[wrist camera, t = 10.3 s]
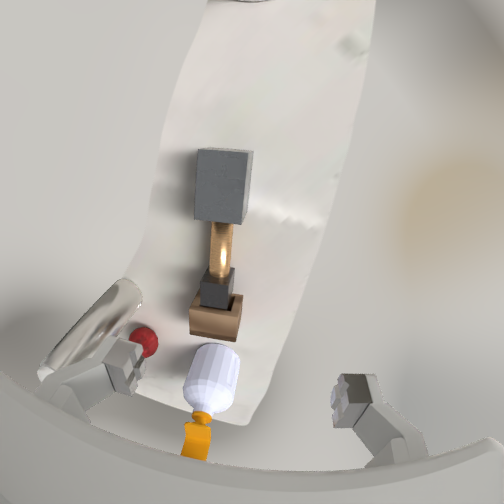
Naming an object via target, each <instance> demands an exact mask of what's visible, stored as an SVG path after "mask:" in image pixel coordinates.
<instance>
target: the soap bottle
mask: <svg viewBox="0 0 504 504" xmlns="http://www.w3.org/2000/svg"><path fill="white" fill-rule="evenodd" d="M239 368H240V360H239V357H238V355H237V354H236V353H235V352H234V351H233V350H232V349H230V348H229V347H227V346H224V345H221V344H212V343H210V344H206V345H203V346H202V347H200V348H199V349H198V350H197V352H196V354H195V356H194V359H193V362H192V364H191V367H190V370H189V372H188V375H187V378H186V380H185V383H184V386H183V394H184V398H185V399H186V401H187V402H188V403H189V404H190V405H191V406H192V407H193V408H194V409H193V413H192V418H193V419H194V420H195V422H192V423H190V422H186V423H185V424H184V425H185V432H186V438H185V442H184V445H183V449H182V452H181V455H180V456H184V457H189V458H193V459H197V460H202V461H206V459H207V454H208V450H209V446H210V441H211V429H210V427H208V426H206V425H205V424H206V423H210V422H211V420H212V416H213V413H219V412H223V411H225V410H227V409H228V408H229V407H230V406H231V404H232V403H233V400H234V394H235V389H236V384H237V378H238V373H239Z"/></svg>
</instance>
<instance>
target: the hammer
mask: <svg viewBox="0 0 504 504" xmlns="http://www.w3.org/2000/svg"><path fill="white" fill-rule="evenodd" d="M232 235H233V224H231V223H223V222H214V221H212V226H211V245H210V265H209V267H208V269H207V270H206V272H205V274H204V276H203V278H202V280H201V283H200V305H203V306H208V308H213V309H219V310H225V311H227V308H228V305H229V301H230V298H231V295H232V292H233V283H234V271H235V268H230V259H231V247H232Z"/></svg>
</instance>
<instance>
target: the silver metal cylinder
mask: <svg viewBox="0 0 504 504" xmlns="http://www.w3.org/2000/svg"><path fill="white" fill-rule="evenodd" d="M141 304H142V294H141V291H140V289H139V288H138V287H137V286H136V285H135V284H134V283H133V282H131V281H129V280H127V279H120V280H118V281H116V282H115V283H114V284H113V285H112V286H111V287H110V288H109V289H108V290H107V291H106V292H105V293H104V294H103V295H102V296H101V297H100V298H99V299H98V300H97V301H96V302H95V303H94V304H93V306H92V307H91V308H90V309H89V310H88V311H87V312H86V313H85V314H84V315H83V316H82V317H81V318H80V319H79V320H78V321H77V323H76V324H75V325H74V326H73V327H72V328H71V329H70V330H69V331H68V333H66V335H65V336H64V337H63V338H62V339H61V340H60V341H59V343H58V344H57V345H56V346H55V347H54V348H53V349H52V351H51V352H50V353H49V354H48V355H47V356H46V358H45V359H44V360H43V361H42V362H41V364H40V365H39V366H40V368H39V370H38V371H37V375H38V378H39V380H40V381H41V382H42V381H43V380H44V378H45V377H46V376H47V375H48V374H51V373H53V372H55V371H58V370H60V369H63V368H65V367H68V366H70V365H72V364H75V363H77V362H79V361H82V360H84V359H86V358H92V357H93V355H94V354H95V353H96V351H97V350H98V349H99V347H100V346H101V345H102V343H103V342H104V341H105V339H106V338H107V337H108V336H110V335H112V336H115V337H117V336H118V335H119V333H120V332H121V331H122V329H123V328H124V327H125V325H126V324H127V323H128V321H129V320H130V319H131V317H132V316H133V315H134V313H135V312H136V311H137V309H138V308H139V307H140V305H141Z"/></svg>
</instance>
